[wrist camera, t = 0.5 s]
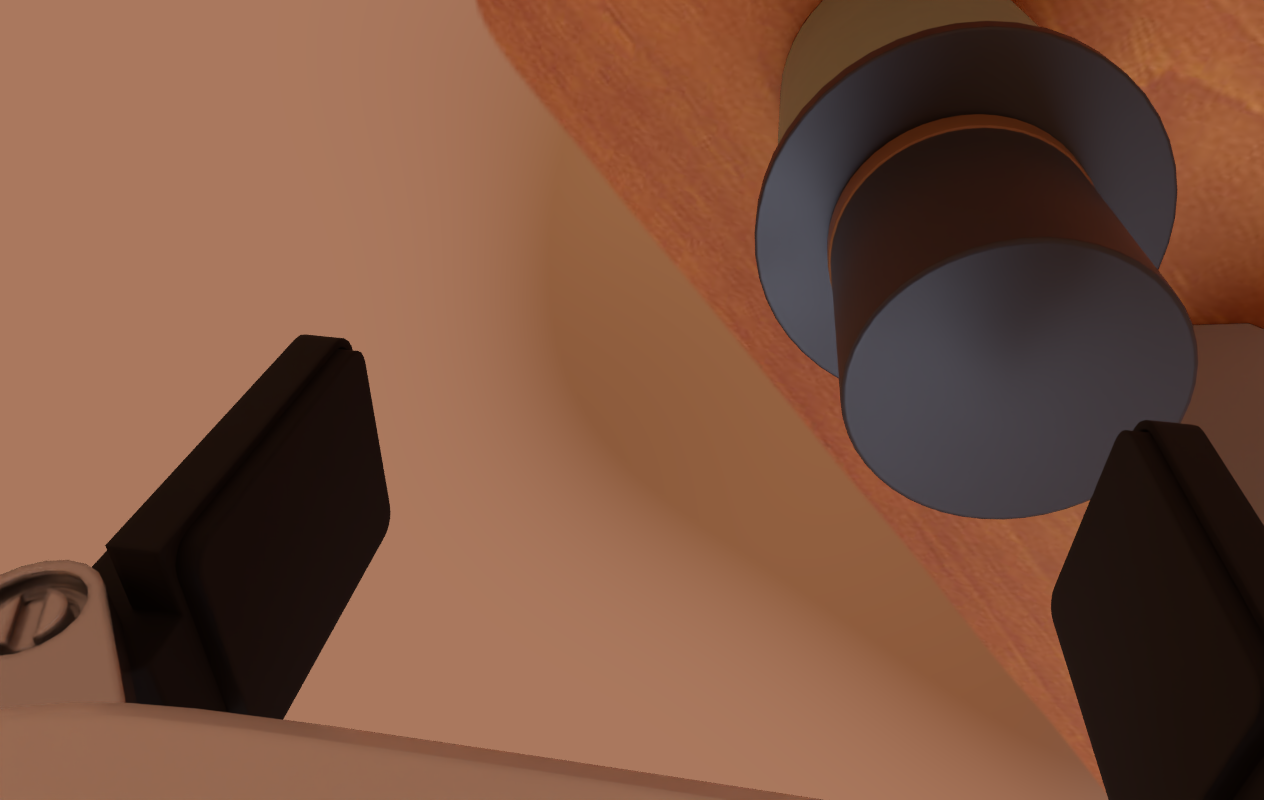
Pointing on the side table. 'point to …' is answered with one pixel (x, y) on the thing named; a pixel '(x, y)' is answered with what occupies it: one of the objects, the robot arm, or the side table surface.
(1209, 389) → the cup
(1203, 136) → the side table surface
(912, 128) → the hat
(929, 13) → the pedestal
